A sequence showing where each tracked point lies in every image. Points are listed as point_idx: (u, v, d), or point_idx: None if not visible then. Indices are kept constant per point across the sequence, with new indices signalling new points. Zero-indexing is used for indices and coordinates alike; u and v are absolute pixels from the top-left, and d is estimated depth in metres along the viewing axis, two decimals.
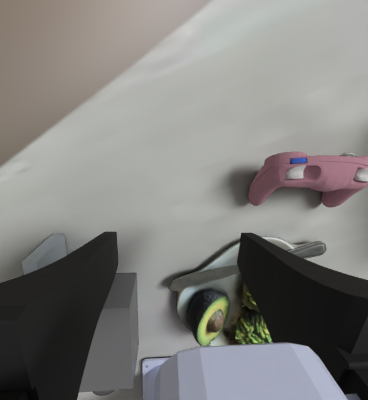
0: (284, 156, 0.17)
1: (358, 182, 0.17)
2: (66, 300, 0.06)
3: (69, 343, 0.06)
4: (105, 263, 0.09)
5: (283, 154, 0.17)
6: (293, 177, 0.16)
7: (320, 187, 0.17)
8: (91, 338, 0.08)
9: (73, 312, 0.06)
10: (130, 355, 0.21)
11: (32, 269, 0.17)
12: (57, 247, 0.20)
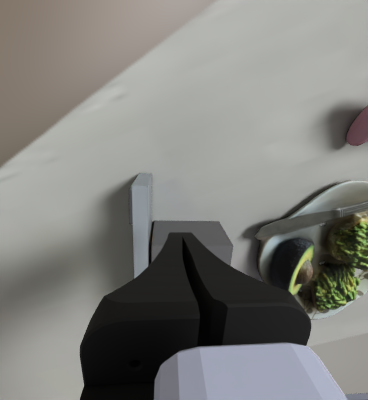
0: None
1: None
2: None
3: None
4: None
5: None
6: None
7: None
8: None
9: None
10: None
11: (142, 194, 0.16)
12: (150, 183, 0.19)
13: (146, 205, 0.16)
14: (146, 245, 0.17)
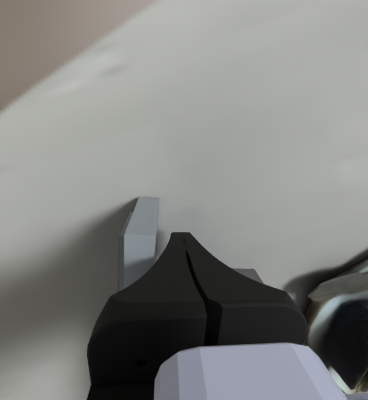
0: None
1: None
2: None
3: None
4: None
5: None
6: None
7: None
8: None
9: None
10: None
11: (143, 249, 0.08)
12: (157, 216, 0.11)
13: None
14: None
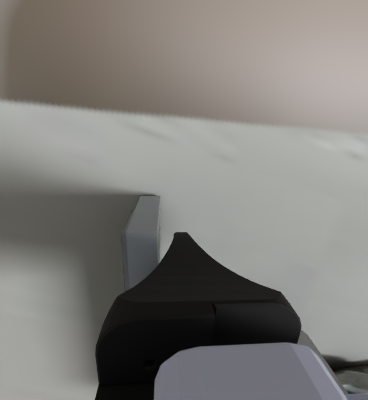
0: None
1: None
2: None
3: None
4: None
5: None
6: None
7: None
8: None
9: None
10: None
11: (146, 247, 0.08)
12: (159, 214, 0.11)
13: (154, 265, 0.09)
14: None
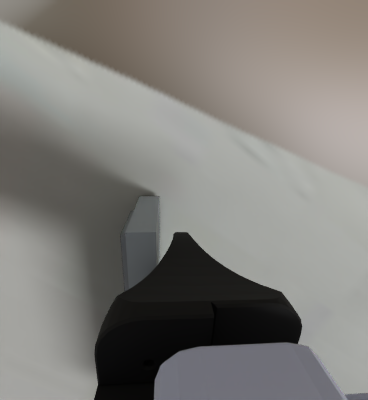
0: None
1: None
2: None
3: None
4: None
5: None
6: None
7: None
8: None
9: None
10: None
11: (145, 247, 0.08)
12: None
13: (153, 265, 0.09)
14: None
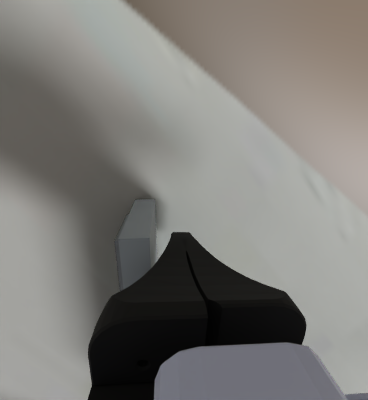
0: None
1: None
2: None
3: None
4: None
5: None
6: None
7: None
8: None
9: None
10: None
11: (139, 252, 0.08)
12: (154, 218, 0.11)
13: None
14: None
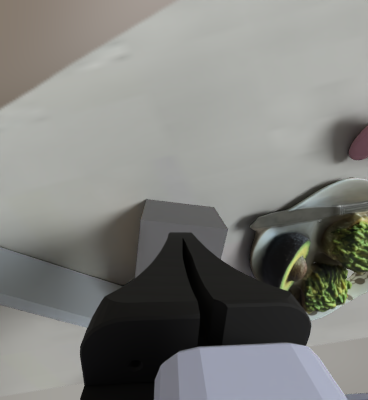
0: None
1: None
2: None
3: None
4: None
5: None
6: None
7: None
8: None
9: None
10: None
11: None
12: None
13: None
14: None
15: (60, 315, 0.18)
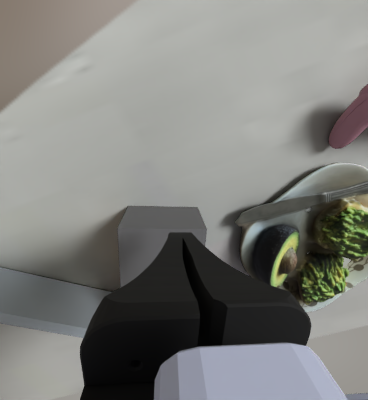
0: None
1: None
2: None
3: None
4: None
5: None
6: None
7: None
8: None
9: None
10: None
11: None
12: None
13: None
14: None
15: (53, 327, 0.18)
